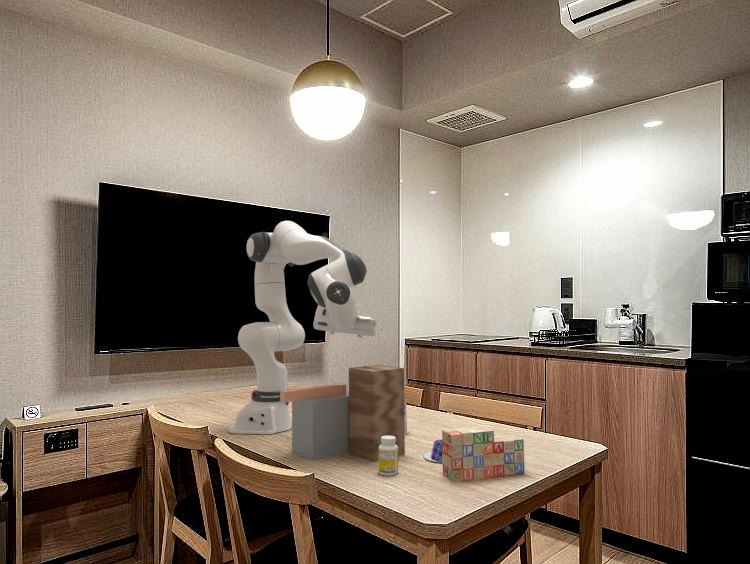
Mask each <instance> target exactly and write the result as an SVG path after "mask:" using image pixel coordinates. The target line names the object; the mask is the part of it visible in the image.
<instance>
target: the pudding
mask: <svg viewBox="0 0 750 564" xmlns="http://www.w3.org/2000/svg"><path fill="white" fill-rule="evenodd" d="M423 457H424V459H426V460H428V461H430V462H437V463H441V464H443V456H442V438H441V439H440V438H439V439H435V440H434V442H433V446H432V451H429V452H426V453H425V454H424V455H423Z"/></svg>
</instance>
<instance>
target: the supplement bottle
mask: <svg viewBox="0 0 750 564" xmlns="http://www.w3.org/2000/svg"><path fill="white" fill-rule="evenodd" d="M395 442H396V437H394V436H382V437H381V443H382V444H381V445H380V446H379V461H378V473H379V474H380V475H382V476H391V477H392V476H396V475H397V474H398V473H399V456H398V446H397V445H396V444H395Z"/></svg>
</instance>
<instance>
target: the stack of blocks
mask: <svg viewBox="0 0 750 564" xmlns="http://www.w3.org/2000/svg"><path fill="white" fill-rule="evenodd" d="M441 432H442V433H441V435H442V436H441V439H442V456H443V463H442V476H444V477H445V478H446V479H448V480H449V481H451V482H452V483H453V482H462V481H464V482H465V481H472V480H482V479H487V478H495V477H497V478H498V477H505V476H512V475H521V474H525V444H524V443H525V441H524V438H521V437H519V436H516V435H514V434H512V433H511V434H510V433H509V434H500V435H495V431H494V430H493V429H491V428H488V427H486V426H483V425H479V426H467V427H466V426H465V427H458V428H448V429H446V428H445V429H442V430H441Z"/></svg>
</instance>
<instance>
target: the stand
mask: <svg viewBox="0 0 750 564" xmlns="http://www.w3.org/2000/svg"><path fill="white" fill-rule="evenodd" d="M348 392H349V452H348V453H349V454H350V455H353V456H356V457H359V458H361V459H365V460H367V461H370V462H373V463H375V462H379V446H380V445H381V444H382V443H381V437H382V436H394V437H396V442H395V444H396V445H397V446H398V457H401V456H405V454H406V451H405V449H406V448H405V447H406V445H405V444H406V443H405V438H406V437H405V435H406V434H405V424H404V398H405V368H404V367H397V366H391V365H381V364H375V365H374V364H373V365H365V366H364V365H363V366H356V367H355V366H354V367H348Z"/></svg>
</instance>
